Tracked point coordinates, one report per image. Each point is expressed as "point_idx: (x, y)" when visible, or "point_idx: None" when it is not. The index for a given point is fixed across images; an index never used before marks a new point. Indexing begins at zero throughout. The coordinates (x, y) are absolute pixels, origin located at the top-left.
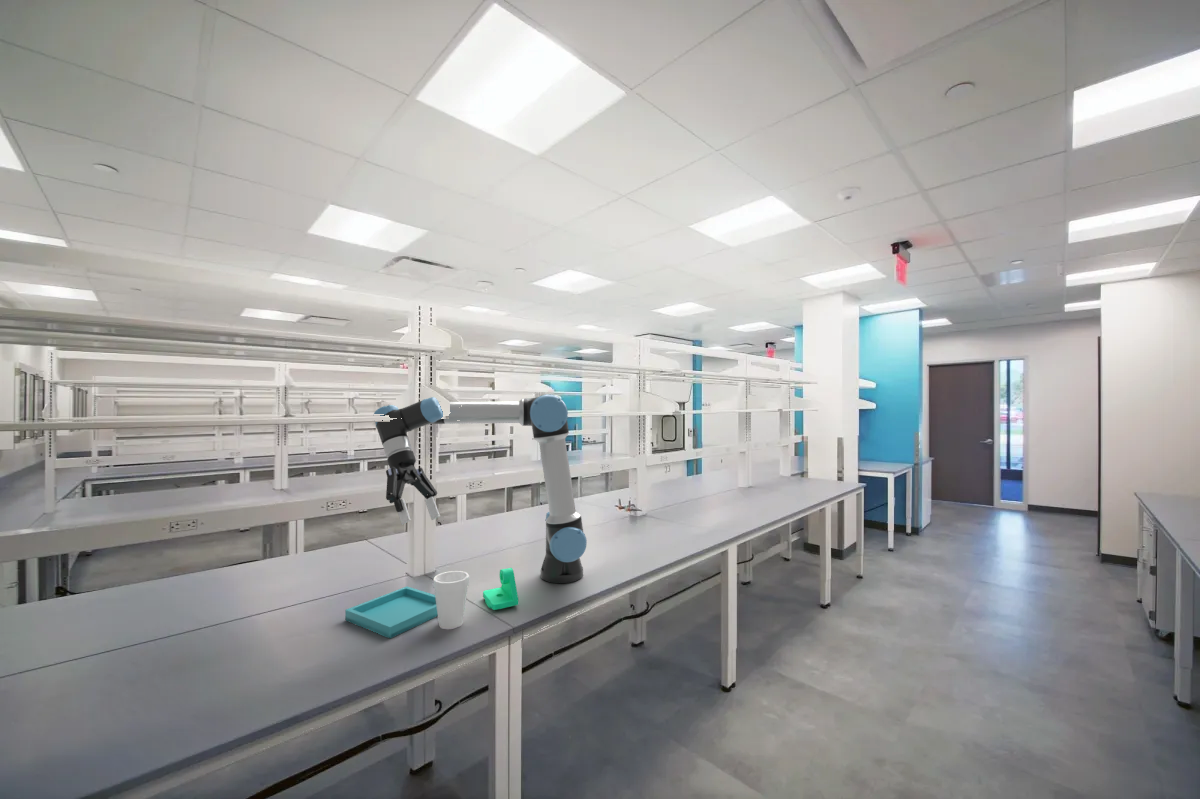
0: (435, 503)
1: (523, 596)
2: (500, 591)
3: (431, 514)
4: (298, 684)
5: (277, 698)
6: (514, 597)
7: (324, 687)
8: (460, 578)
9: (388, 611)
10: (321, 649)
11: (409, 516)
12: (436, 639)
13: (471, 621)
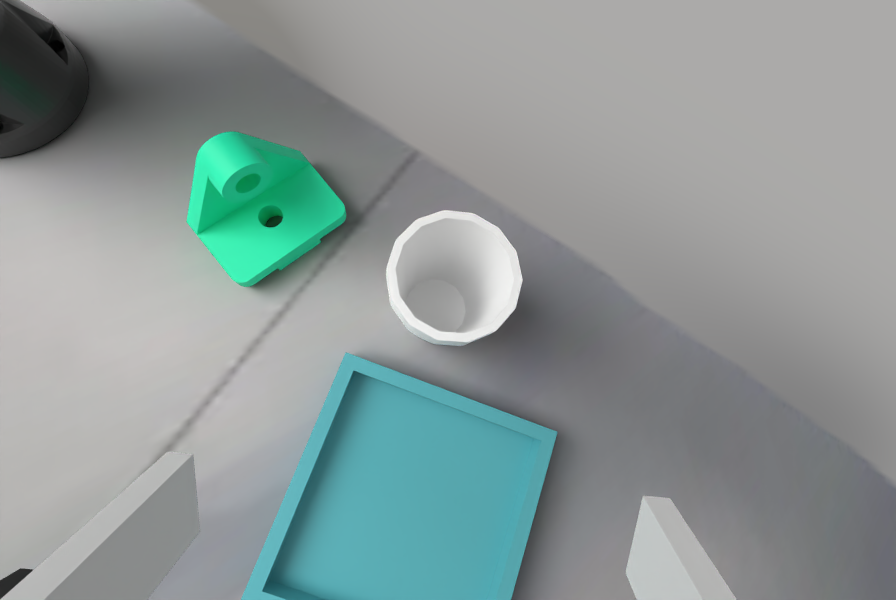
0: (25, 583)
1: None
2: (238, 224)
3: (161, 559)
4: (755, 500)
5: (800, 501)
6: (301, 157)
7: (744, 433)
8: (399, 268)
9: (417, 543)
10: None
11: (666, 525)
12: (519, 306)
13: None
